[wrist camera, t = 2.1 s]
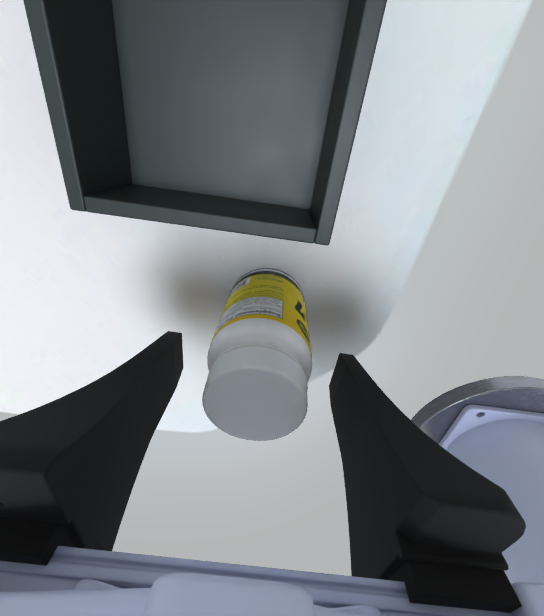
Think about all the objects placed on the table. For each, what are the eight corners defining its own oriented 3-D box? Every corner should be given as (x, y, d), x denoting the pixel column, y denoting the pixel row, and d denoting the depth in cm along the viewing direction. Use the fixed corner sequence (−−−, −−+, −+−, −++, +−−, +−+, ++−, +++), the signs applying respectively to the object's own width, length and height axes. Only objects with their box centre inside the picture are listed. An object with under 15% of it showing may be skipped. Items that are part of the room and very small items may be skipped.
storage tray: (377, -70, 10) (438, -214, 6) (317, 220, 15) (329, 246, 11) (89, -119, 10) (-48, -305, 6) (128, 193, 15) (70, 210, 11)
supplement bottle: (303, 332, 19) (315, 450, 11) (234, 332, 19) (201, 447, 12) (305, 265, 16) (321, 360, 9) (226, 266, 17) (179, 359, 9)
